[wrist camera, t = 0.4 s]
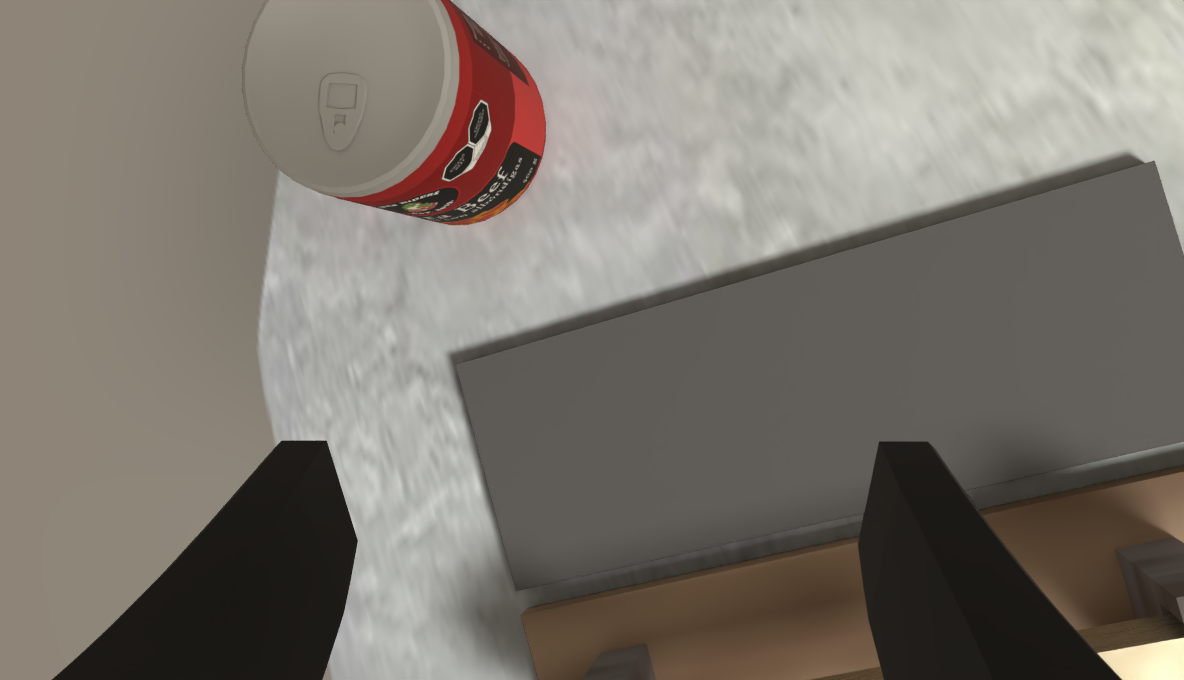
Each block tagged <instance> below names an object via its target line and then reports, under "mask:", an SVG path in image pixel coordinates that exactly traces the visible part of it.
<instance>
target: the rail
mask: <svg viewBox="0 0 1184 680" xmlns="http://www.w3.org/2000/svg"><path fill="white" fill-rule="evenodd" d="M1077 631H1078V633H1079V634H1080V635H1081V636H1082V637H1083V638H1084V639H1085V640H1086V641H1087V643H1088V644H1089V645H1090V646H1091V647H1092V648H1093V649H1094V650H1095V651H1096V652H1097V654H1098V655H1099V656H1100V657H1101V658H1102V659H1103V660H1104V661H1105V662H1106V663H1107V664H1108V665H1109V666H1110V667H1111V668H1112V669H1113V671H1114V672H1115V673H1116V674H1117V675H1118V676H1119V677H1120V678H1121V679H1122V680H1184V623H1182V622H1181V621H1180V620H1179V619H1178V618H1177V617H1175V616H1174V615H1173V614H1172V613H1169V614H1163V615H1158V616H1153V617H1147V618H1142V619H1136V620H1131V621H1125V622H1120V623H1114V624H1109V625H1104V626H1098V627H1093V628H1087V629H1082V630H1077ZM810 680H884V678H883V674H882V670H881V667H875V668H870V669H864V670H859V671H853V672H848V673H842V674H837V675H832V676H826V677H821V678H815V679H810Z"/></svg>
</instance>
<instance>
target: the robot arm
mask: <svg viewBox="0 0 1184 680" xmlns="http://www.w3.org/2000/svg"><path fill="white" fill-rule="evenodd" d="M357 542H358V540H357V537H356V534H355V531H354V527H353V524H352V521H351V518H350V514H349V511H348V508H347V505H346V502H345V498H344V495H343V492H342V489H341V486H340V482H339V479H338V476H337V473H336V469H335V466H334V463H333V460H332V457H331V453H330V450H329V447H328V444H327V441H281V442H280V443H279V444H278V445H277V446H276V447H275V448H274V449H273V451H272V452H271V453H270V454H269V455H268V456H267V457H266V458H265V460H264V461H263V462H262V463H261V464H260V465H259V466H258V468H257V469H256V470H255V471H254V472H253V474H252V475H251V476H250V477H249V478H248V479H247V480H246V481H245V483H244V484H243V485H242V486H241V487H240V488H239V489H238V491H237V492H236V493H235V494H234V495H233V497H232V498H231V499H230V500H229V501H228V502H227V503H226V504H225V506H224V507H223V508H222V509H221V510H220V511H219V512H218V513H217V515H216V516H215V517H214V518H213V519H212V520H211V521H210V523H209V524H208V525H207V526H206V527H205V528H204V529H203V530H202V531H201V532H200V534H199V535H198V536H197V537H196V538H195V539H194V540H193V541H192V542H191V543H190V545H189V546H188V547H187V548H186V549H185V550H184V551H183V552H182V553H181V554H180V555H179V557H178V558H177V559H176V560H175V561H174V562H173V563H172V564H171V565H170V566H169V567H168V568H167V570H166V571H165V572H164V573H163V574H162V575H161V576H160V577H159V578H158V579H157V580H156V581H155V582H154V583H153V584H152V585H151V586H150V587H149V588H148V589H147V590H146V591H145V592H144V593H143V594H142V595H141V596H140V597H139V598H138V599H137V600H136V601H135V602H134V603H133V604H132V605H131V606H130V607H129V608H128V609H127V610H126V611H125V612H124V613H123V614H122V615H121V616H120V617H119V618H118V619H117V620H116V621H115V622H114V623H113V624H112V625H111V626H110V627H109V628H108V629H107V630H106V631H105V632H104V633H103V634H102V635H101V636H100V637H99V638H98V639H96V640H95V641H94V642H93V643H92V644H91V645H90V646H89V647H88V648H87V649H86V650H85V651H84V652H82V653H81V654H80V655H79V656H78V657H77V658H76V659H75V660H74V661H73V662H71V663H70V664H69V665H68V666H67V667H66V668H65V669H63V670H62V671H61V672H60V673H59V674H58V675H57V676H56V677H54V678H53V679H52V680H322V679H323V676H324V673H325V670H326V667H327V664H328V661H329V658H330V655H331V651H332V648H333V645H334V642H335V639H336V636H337V633H338V630H339V627H340V623H341V620H342V617H343V614H344V610H345V605H346V600H347V595H348V590H349V585H350V581H351V575H352V570H353V564H354V559H355V553H356V548H357ZM858 550H859V558H860V565H861V573H862V580H863V587H864V594H865V601H866V607H867V614H868V620H869V624H870V628H871V632H872V636H873V640H874V644H875V647H876V651H877V655H878V659H879V663H880V667H881V670H882V674H883V678H884V680H1122V679H1121V678H1120V677H1119V676H1118V675H1117V674H1116V673H1115V672H1114V671H1113V669H1112V668H1111V667H1110V666H1109V665H1108V664H1107V663H1106V662H1105V661H1104V660H1103V659H1102V658H1101V657H1100V656H1099V655H1098V654H1097V652H1096V651H1095V650H1094V649H1093V648H1092V647H1091V646H1090V645H1089V644H1088V643H1087V641H1086V640H1085V639H1084V638H1083V637H1082V636H1081V635H1080V634H1079V633H1078V631H1077V630H1076V629H1075V628H1074V627H1073V626H1072V625H1071V624H1070V622H1069V621H1068V620H1067V619H1066V618H1065V617H1064V616H1063V615H1062V614H1061V612H1060V611H1059V610H1058V609H1057V608H1056V606H1055V605H1054V604H1053V603H1052V602H1051V601H1050V599H1049V598H1048V597H1047V596H1046V595H1045V594H1044V592H1043V591H1042V590H1041V589H1040V588H1039V586H1038V585H1037V584H1036V583H1035V581H1034V580H1033V579H1032V578H1031V576H1030V575H1029V574H1028V573H1027V572H1026V570H1025V569H1024V568H1023V567H1022V565H1021V564H1020V563H1019V562H1018V560H1017V559H1016V558H1015V557H1014V555H1013V554H1012V553H1011V552H1010V551H1009V549H1008V548H1007V547H1006V545H1005V544H1004V543H1003V542H1002V540H1001V539H1000V538H999V536H998V535H997V534H996V533H995V531H994V530H993V529H992V527H991V526H990V525H989V523H988V522H987V521H986V519H985V518H984V517H983V515H982V514H981V513H980V511H979V510H978V508H977V507H976V506H975V504H974V503H973V502H972V500H971V499H970V498H969V496H968V495H967V493H966V492H965V491H964V489H963V488H962V486H961V485H960V484H959V482H958V481H957V479H956V478H955V477H954V475H953V474H952V472H951V471H950V469H949V468H948V467H947V465H946V464H945V462H944V461H943V459H942V458H941V456H940V455H939V454H938V452H937V451H936V449H935V448H934V447H933V446H932V445H931V444H930V443H929V442H928V441H879V444H878V449H877V454H876V459H875V464H874V468H873V473H872V478H871V483H870V488H869V493H868V498H867V503H866V507H865V512H864V517H863V522H862V527H861V532H860V537H859V542H858Z"/></svg>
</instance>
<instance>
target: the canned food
mask: <svg viewBox="0 0 1184 680" xmlns="http://www.w3.org/2000/svg"><path fill="white" fill-rule="evenodd" d="M242 92H243V98H244V104H245V110H246V115H247V117H248V120H249V123H250V126H251V128H252V131H253V134H254V136H255V138H256V139H257V141H258V143H259V145H260V146H261V148H262V150H263V152H264V153H265V154H266V156H267V157H268V158H269V159H270V160H271V161H272V162H273V164H274V165H275V166H276V167H277V168H278V169H279V170H280V171H282V172H283V173H284V174H286V175H287V176H288V177H290V178H291V179H292V180H294V181H295V182H298V183H300V184H302V185H303V186H306V187H308V188H310V189H312V190H314V191H317V192H319V193H321V194H325V195H329V196H333V197H336V198H338V199H342V200H347V201H351V202H355V203H359V204H363V205H367V206H371V207H376V208H380V209H384V210H388V211H392V212H396V213H400V214H405V215H409V216H413V217H417V218H421V219H425V220H429V221H434V222H438V223H443V224H448V225H469V224H473V223H477V222H481V221H485V220H487V219H489V218H491V217H493V216H495V215H497V214H499V213H501V212H502V211H504V210H505V209H506V208H508V207H509V206H510V205H511V204H513V203H514V202H515V201H517V199H518V198H519V197H520V196H521V195H522V194H523V193H524V192H525V190H526V189H527V188H528V186H529V185H530V183H531V181H532V180H533V178H534V176H535V175H536V173H537V170H538V168H539V165H540V162H541V160H542V156H543V151H544V146H545V138H546V122H545V114H544V108H543V103H542V99H541V96H540V93H539V91H538V88H537V85H536V83H535V81H534V80H533V78H532V77H531V75H530V73H529V72H528V70H527V69H526V68H525V66H524V65H523V64H522V63H521V62H520V61H519V60H518V59H517V58H516V57H515V56H514V55H513V54H512V53H510V52H509V51H508V50H507V49H506V48H505V47H503V46H502V45H501V44H500V43H499V42H498V41H497V40H495V39H494V38H493V37H492V36H491V35H490V34H488V33H487V32H486V31H485V30H484V29H483V28H481V27H480V26H479V25H478V24H477V23H476V22H475V21H473V20H472V19H471V18H470V17H469V16H468V15H466V14H465V13H464V12H463V11H462V10H461V9H459V8H458V7H457V6H456V5H455V4H454V3H452V2H451V1H450V0H266V1H265V2H264V4H263V6H262V8H261V10H260V11H259V13H258V15H257V17H256V19H255V21H254V23H253V26H252V29H251V32H250V35H249V38H248V41H247V44H246V49H245V55H244V61H243V67H242Z"/></svg>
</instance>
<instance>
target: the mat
mask: <svg viewBox="0 0 1184 680" xmlns="http://www.w3.org/2000/svg"><path fill="white" fill-rule="evenodd" d="M456 368H457V372H458V376H459V379H460V383H461V387H462V391H463V394H464V398H465V402H466V406H467V409H468V413H469V417H470V420H471V424H472V428H473V432H474V435H475V439H476V443H477V447H478V450H479V454H480V458H481V462H482V465H483V469H484V473H485V476H486V480H487V484H488V488H489V491H490V495H491V499H492V503H493V506H494V510H495V514H496V518H497V521H498V525H499V529H500V533H501V536H502V540H503V544H504V547H505V551H506V555H507V559H508V562H509V566H510V570H511V574H512V577H513V581H514V585H515V589H516V591H518V590H523V589H527V588H532V587H536V586H541V585H545V584H550V583H554V582H559V581H563V580H567V579H572V578H576V577H581V576H585V575H590V574H594V573H599V572H603V571H608V570H612V569H617V568H621V567H626V566H630V565H635V564H639V563H643V562H648V561H652V560H657V559H661V558H666V557H670V556H675V555H679V554H684V553H688V552H693V551H697V550H702V549H706V548H710V547H715V546H719V545H724V544H728V543H733V542H737V541H742V540H746V539H751V538H755V537H760V536H764V535H769V534H773V533H777V532H782V531H786V530H791V529H795V528H800V527H804V526H809V525H813V524H818V523H822V522H827V521H831V520H836V519H840V518H845V517H849V516H853V515H858V514H862V513H864V512H865V507H866V503H867V498H868V493H869V488H870V483H871V478H872V473H873V468H874V464H875V459H876V454H877V449H878V444H879V441H928V442H929V443H930V444H931V445H932V446H933V447H934V448H935V449H936V451H937V452H938V454H939V455H940V456H941V458H942V459H943V461H944V462H945V464H946V465H947V467H948V468H949V469H950V471H951V472H952V474H953V475H954V477H955V478H956V479H957V481H958V482H959V484H960V485H961V486H962V488H963V489H964V491H965V490H970V489H974V488H979V487H983V486H987V485H992V484H996V483H1001V482H1005V481H1010V480H1014V479H1019V478H1023V477H1028V476H1032V475H1037V474H1041V473H1046V472H1050V471H1055V470H1059V469H1063V468H1068V467H1072V466H1077V465H1081V464H1086V463H1090V462H1095V461H1099V460H1104V459H1108V458H1113V457H1117V456H1122V455H1126V454H1130V453H1135V452H1139V451H1144V450H1148V449H1153V448H1157V447H1162V446H1166V445H1171V444H1175V443H1180V442H1184V255H1183V251H1182V248H1181V245H1180V242H1179V238H1178V235H1177V232H1176V229H1175V225H1174V222H1173V219H1172V216H1171V212H1170V209H1169V206H1168V203H1167V199H1166V196H1165V193H1164V190H1163V186H1162V183H1161V180H1160V177H1159V173H1158V170H1157V167H1156V164H1155V161H1151V162H1148V163H1144V164H1141V165H1138V166H1134V167H1131V168H1127V169H1124V170H1120V171H1117V172H1114V173H1110V174H1107V175H1103V176H1100V177H1097V178H1093V179H1090V180H1086V181H1083V182H1079V183H1076V184H1073V185H1069V186H1066V187H1062V188H1059V189H1055V190H1052V191H1049V192H1045V193H1042V194H1038V195H1035V196H1031V197H1028V198H1025V199H1021V200H1018V201H1014V202H1011V203H1008V204H1004V205H1001V206H997V207H994V208H990V209H987V210H984V211H980V212H977V213H973V214H970V215H966V216H963V217H960V218H956V219H953V220H949V221H946V222H942V223H939V224H936V225H932V226H929V227H925V228H922V229H919V230H915V231H912V232H908V233H905V234H901V235H898V236H895V237H891V238H888V239H884V240H881V241H877V242H874V243H871V244H867V245H864V246H860V247H857V248H854V249H850V250H847V251H843V252H840V253H836V254H833V255H830V256H826V257H823V258H819V259H816V260H812V261H809V262H806V263H802V264H799V265H795V266H792V267H788V268H785V269H782V270H778V271H775V272H771V273H768V274H765V275H761V276H758V277H754V278H751V279H747V280H744V281H741V282H737V283H734V284H730V285H727V286H723V287H720V288H717V289H713V290H710V291H706V292H703V293H700V294H696V295H693V296H689V297H686V298H682V299H679V300H676V301H672V302H669V303H665V304H662V305H658V306H655V307H652V308H648V309H645V310H641V311H638V312H634V313H631V314H628V315H624V316H621V317H617V318H614V319H611V320H607V321H604V322H600V323H597V324H593V325H590V326H587V327H583V328H580V329H576V330H573V331H569V332H566V333H563V334H559V335H556V336H552V337H549V338H545V339H542V340H539V341H535V342H532V343H528V344H525V345H522V346H518V347H515V348H511V349H508V350H504V351H501V352H498V353H494V354H491V355H487V356H484V357H480V358H477V359H474V360H470V361H467V362H463V363H460V364H457V365H456Z"/></svg>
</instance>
